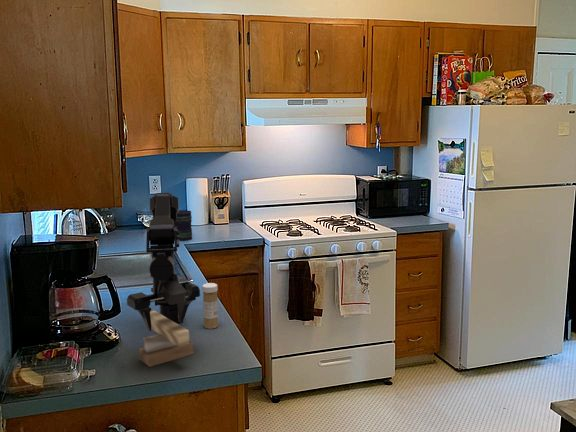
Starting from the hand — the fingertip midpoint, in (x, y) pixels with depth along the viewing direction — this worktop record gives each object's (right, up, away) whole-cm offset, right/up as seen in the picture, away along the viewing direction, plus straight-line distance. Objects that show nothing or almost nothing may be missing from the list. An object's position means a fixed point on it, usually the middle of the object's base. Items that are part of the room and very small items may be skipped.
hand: (165, 326), depth 151 cm
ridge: (0, -8, +1) cm, 8 cm away
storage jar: (-24, +17, +152) cm, 155 cm away
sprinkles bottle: (+9, -5, +24) cm, 26 cm away
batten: (0, -2, 0) cm, 2 cm away
